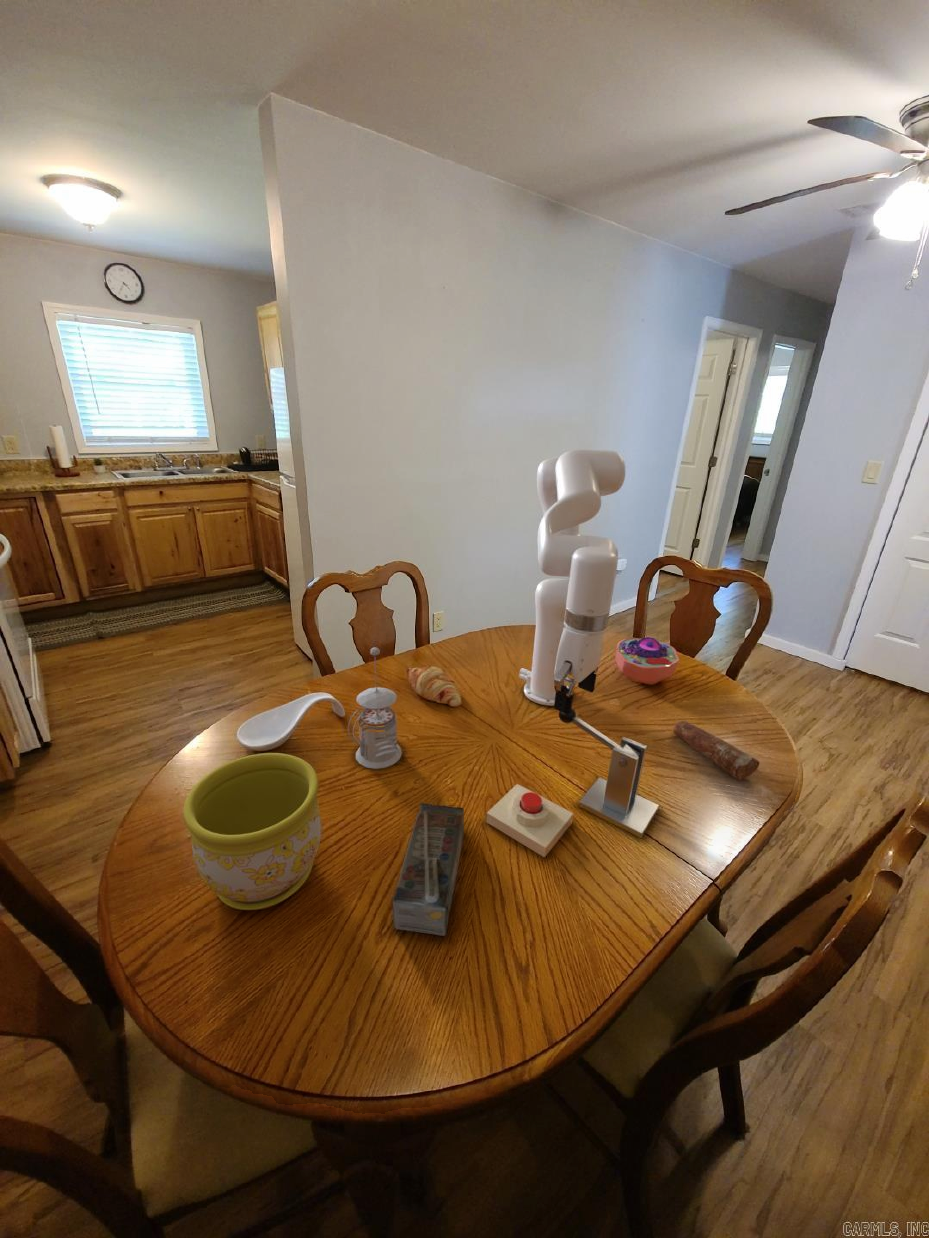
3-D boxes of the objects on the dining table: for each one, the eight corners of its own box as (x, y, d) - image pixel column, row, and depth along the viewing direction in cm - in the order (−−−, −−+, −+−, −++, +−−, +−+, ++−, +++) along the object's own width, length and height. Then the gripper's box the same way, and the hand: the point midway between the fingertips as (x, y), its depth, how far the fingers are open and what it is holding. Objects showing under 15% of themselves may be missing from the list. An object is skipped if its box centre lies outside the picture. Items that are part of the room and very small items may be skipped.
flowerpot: (291, 940, 69) (279, 850, 62) (174, 915, 71) (150, 827, 65) (343, 839, 85) (337, 760, 79) (246, 822, 88) (233, 744, 81)
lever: (553, 719, 96) (558, 707, 94) (561, 712, 98) (566, 700, 96) (628, 771, 89) (635, 758, 87) (635, 762, 91) (642, 750, 89)
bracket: (578, 806, 94) (587, 745, 89) (598, 781, 101) (608, 723, 96) (641, 838, 87) (655, 775, 82) (658, 809, 94) (672, 749, 89)
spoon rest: (252, 767, 101) (247, 737, 98) (230, 740, 109) (225, 712, 106) (353, 723, 117) (352, 696, 114) (327, 702, 124) (325, 677, 122)
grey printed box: (390, 930, 70) (389, 897, 68) (419, 827, 88) (419, 798, 85) (446, 939, 69) (447, 905, 67) (464, 833, 87) (466, 804, 85)
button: (516, 807, 88) (517, 800, 88) (527, 796, 91) (528, 789, 90) (534, 817, 86) (535, 809, 86) (544, 806, 89) (545, 798, 88)
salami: (737, 787, 101) (744, 764, 99) (667, 734, 117) (671, 714, 115) (759, 779, 103) (766, 757, 101) (687, 728, 119) (692, 708, 117)
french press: (411, 753, 107) (410, 648, 97) (367, 779, 99) (361, 667, 89) (382, 734, 113) (379, 633, 103) (338, 757, 105) (330, 650, 96)
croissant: (467, 716, 127) (479, 688, 126) (441, 714, 119) (454, 683, 119) (415, 683, 140) (425, 657, 140) (389, 679, 133) (400, 651, 132)
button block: (486, 822, 90) (487, 804, 88) (516, 792, 97) (517, 776, 95) (544, 857, 83) (546, 839, 81) (572, 822, 90) (574, 805, 89)
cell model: (600, 682, 139) (606, 645, 135) (624, 656, 154) (630, 623, 150) (663, 702, 130) (671, 663, 126) (681, 673, 145) (689, 637, 141)
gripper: (588, 599, 96) (577, 675, 103) (543, 627, 84) (533, 712, 91) (625, 609, 92) (611, 688, 99) (584, 640, 80) (571, 728, 87)
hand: (574, 699), depth 95 cm, fingers open, 9 cm apart
